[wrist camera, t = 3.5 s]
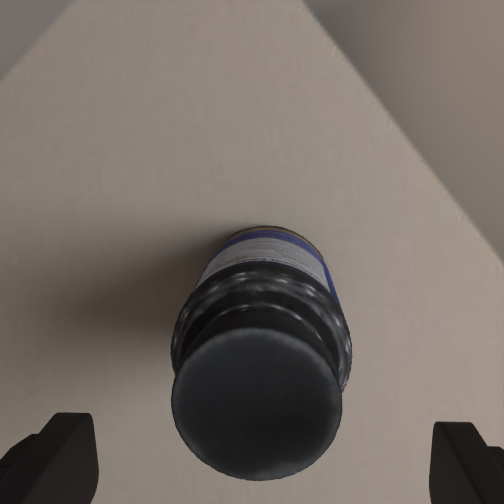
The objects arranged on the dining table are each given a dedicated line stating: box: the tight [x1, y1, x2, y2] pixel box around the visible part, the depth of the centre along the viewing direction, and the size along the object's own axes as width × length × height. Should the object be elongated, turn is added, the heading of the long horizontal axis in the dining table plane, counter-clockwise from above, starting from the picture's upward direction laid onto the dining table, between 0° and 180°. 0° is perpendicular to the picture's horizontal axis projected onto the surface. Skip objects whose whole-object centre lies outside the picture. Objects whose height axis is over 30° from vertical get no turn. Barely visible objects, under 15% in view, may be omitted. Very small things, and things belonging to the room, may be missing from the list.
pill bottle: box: [171, 226, 352, 481], centre depth 18 cm, size 6×6×11 cm
